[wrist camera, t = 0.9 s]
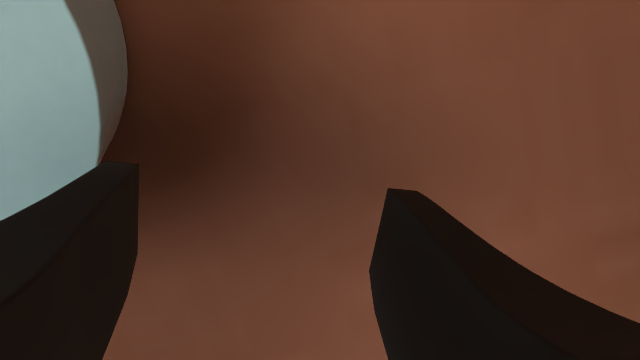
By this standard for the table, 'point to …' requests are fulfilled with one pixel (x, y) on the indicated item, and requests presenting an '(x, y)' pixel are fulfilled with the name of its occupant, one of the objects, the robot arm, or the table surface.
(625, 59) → the table surface
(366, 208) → the table surface
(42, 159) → the pot
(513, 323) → the robot arm
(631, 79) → the table surface
